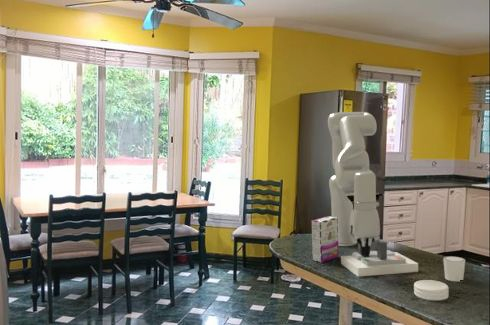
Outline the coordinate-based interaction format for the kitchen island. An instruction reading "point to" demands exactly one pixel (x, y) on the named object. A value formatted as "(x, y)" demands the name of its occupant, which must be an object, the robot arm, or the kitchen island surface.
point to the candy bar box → (325, 239)
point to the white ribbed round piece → (431, 290)
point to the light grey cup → (454, 268)
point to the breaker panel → (378, 268)
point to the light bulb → (373, 245)
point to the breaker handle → (382, 249)
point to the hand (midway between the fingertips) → (365, 256)
